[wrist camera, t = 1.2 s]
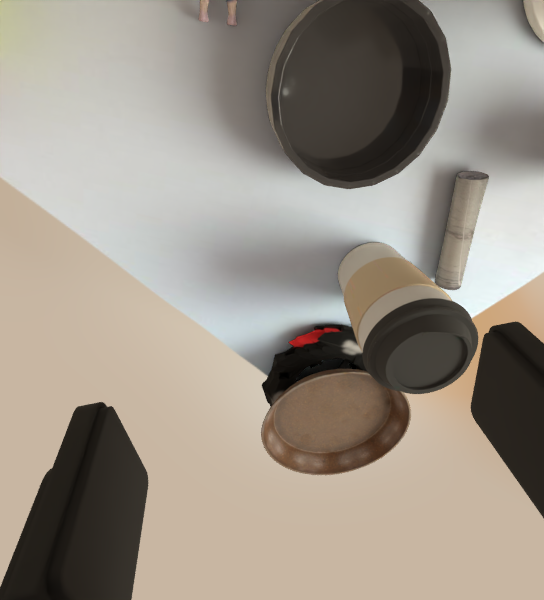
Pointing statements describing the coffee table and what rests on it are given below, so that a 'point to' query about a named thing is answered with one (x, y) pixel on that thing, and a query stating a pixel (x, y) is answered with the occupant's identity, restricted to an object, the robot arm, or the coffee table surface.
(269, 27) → the coffee table surface
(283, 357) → the toy
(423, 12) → the pan
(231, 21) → the figurine
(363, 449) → the plant saucer
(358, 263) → the coffee cup
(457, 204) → the rod
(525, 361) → the robot arm
